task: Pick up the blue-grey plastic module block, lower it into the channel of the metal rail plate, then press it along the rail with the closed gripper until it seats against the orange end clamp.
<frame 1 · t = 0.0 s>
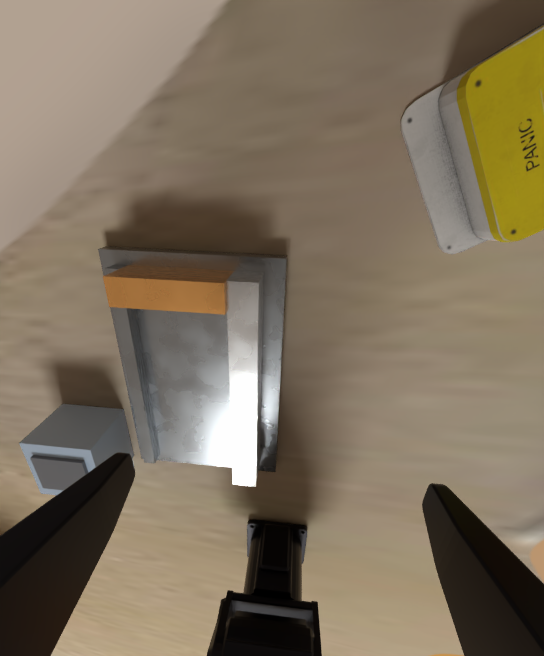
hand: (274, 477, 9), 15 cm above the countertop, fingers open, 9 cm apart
module: (100, 429, 30), on the countertop
rail plate: (203, 370, 26), on the countertop
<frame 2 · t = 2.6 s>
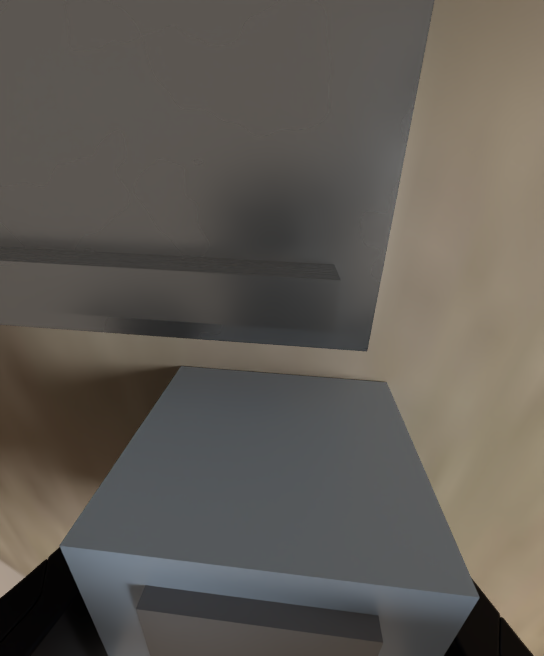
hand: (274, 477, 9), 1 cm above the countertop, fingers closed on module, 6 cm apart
module: (277, 449, 10), on the countertop, touching gripper
when the fingers open (3 cm above the countertop, at t = 6.4 s): module drops 1 cm, resting on rail plate.
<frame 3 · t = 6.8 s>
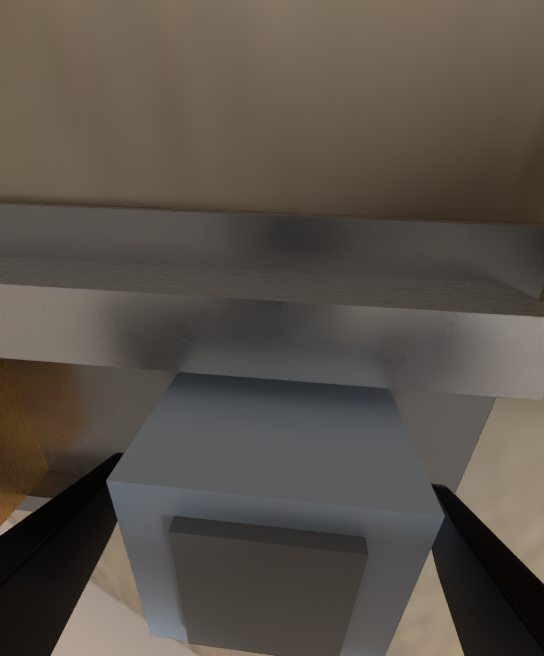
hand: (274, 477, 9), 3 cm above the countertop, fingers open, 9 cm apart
module: (280, 426, 11), point 1 cm above the countertop, touching rail plate
rail plate: (205, 386, 12), on the countertop
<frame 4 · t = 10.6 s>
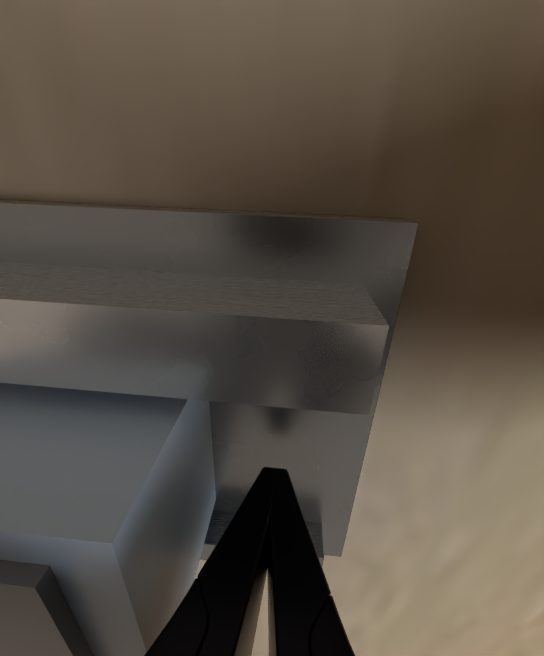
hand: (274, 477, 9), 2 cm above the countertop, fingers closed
module: (126, 431, 10), point 1 cm above the countertop, touching gripper
rail plate: (87, 392, 11), on the countertop
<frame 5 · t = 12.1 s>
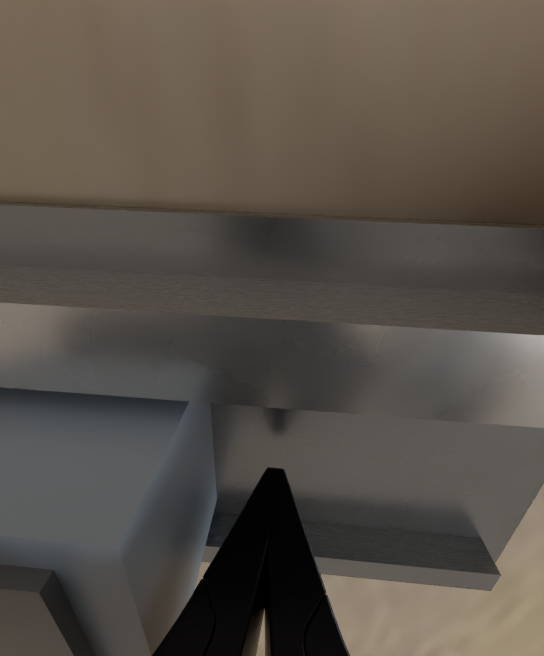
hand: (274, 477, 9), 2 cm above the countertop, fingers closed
module: (126, 433, 10), point 1 cm above the countertop, touching gripper, rail plate
rail plate: (246, 407, 11), on the countertop
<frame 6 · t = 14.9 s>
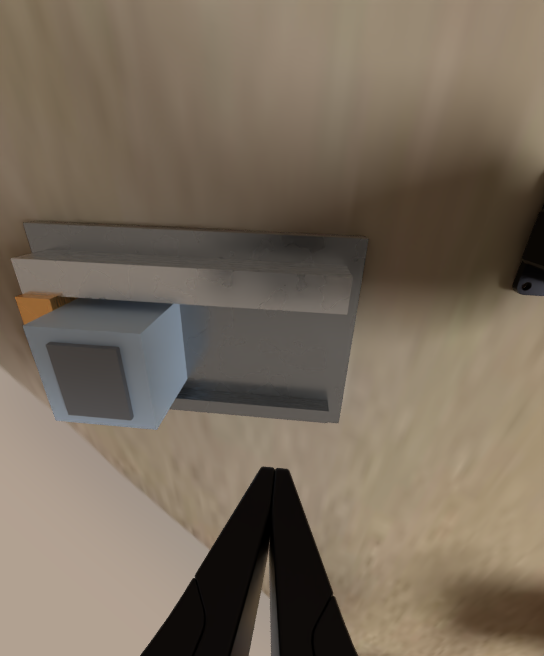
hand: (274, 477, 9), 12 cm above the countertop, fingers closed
module: (140, 338, 20), point 1 cm above the countertop, touching rail plate
rail plate: (201, 327, 21), on the countertop
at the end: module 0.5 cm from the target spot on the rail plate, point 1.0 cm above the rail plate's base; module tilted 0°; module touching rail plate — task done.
